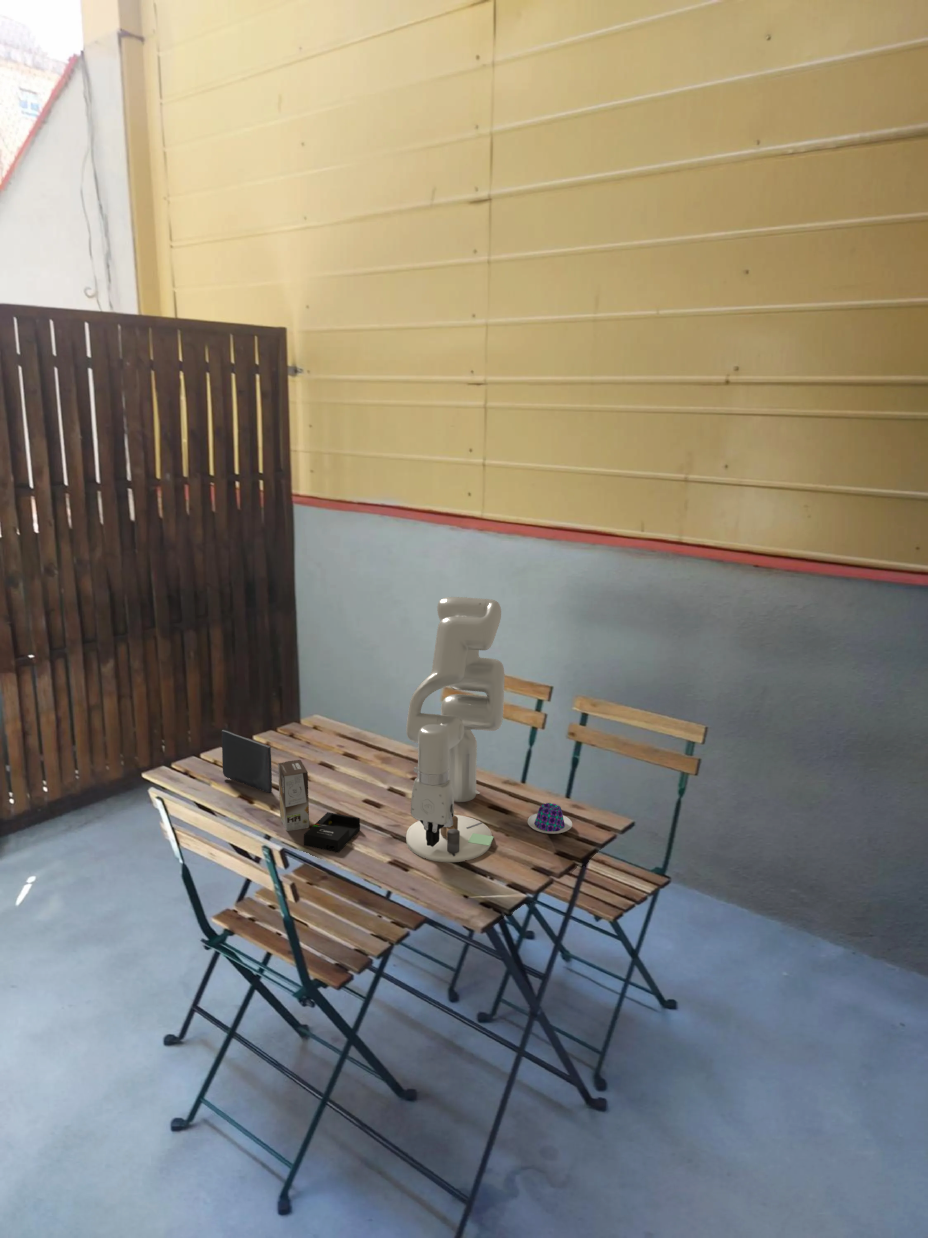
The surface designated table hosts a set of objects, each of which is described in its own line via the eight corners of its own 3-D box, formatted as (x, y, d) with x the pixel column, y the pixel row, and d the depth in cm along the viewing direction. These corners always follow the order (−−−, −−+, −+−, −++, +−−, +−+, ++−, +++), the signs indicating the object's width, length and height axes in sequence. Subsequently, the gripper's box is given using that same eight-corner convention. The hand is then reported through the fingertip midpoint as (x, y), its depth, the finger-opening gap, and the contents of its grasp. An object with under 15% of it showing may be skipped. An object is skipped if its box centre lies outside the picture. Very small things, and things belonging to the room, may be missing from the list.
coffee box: (310, 828, 218) (308, 772, 214) (286, 833, 216) (283, 776, 212) (302, 813, 227) (300, 759, 223) (279, 817, 224) (276, 762, 220)
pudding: (579, 822, 225) (580, 804, 224) (559, 840, 215) (560, 822, 214) (540, 810, 231) (541, 793, 230) (519, 827, 222) (520, 809, 220)
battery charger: (338, 855, 206) (337, 841, 205) (303, 848, 209) (303, 834, 208) (360, 831, 218) (360, 817, 217) (327, 825, 221) (327, 811, 220)
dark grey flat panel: (275, 792, 239) (273, 743, 235) (270, 795, 237) (268, 745, 234) (227, 775, 249) (225, 728, 246) (222, 778, 248) (220, 730, 244)
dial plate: (403, 821, 223) (403, 816, 223) (485, 818, 226) (485, 812, 226) (409, 864, 202) (409, 858, 202) (499, 860, 205) (499, 854, 204)
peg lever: (439, 829, 215) (439, 811, 214) (456, 828, 216) (456, 810, 215) (445, 854, 203) (445, 835, 202) (462, 853, 204) (463, 834, 202)
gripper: (398, 775, 201) (398, 843, 206) (453, 787, 195) (452, 858, 199) (414, 763, 208) (413, 830, 212) (467, 775, 201) (466, 844, 206)
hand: (432, 843), depth 206 cm, fingers closed
